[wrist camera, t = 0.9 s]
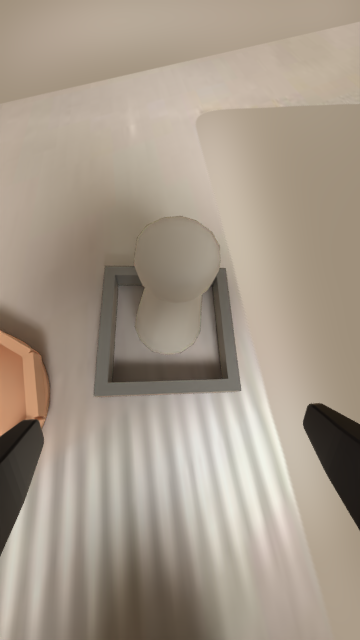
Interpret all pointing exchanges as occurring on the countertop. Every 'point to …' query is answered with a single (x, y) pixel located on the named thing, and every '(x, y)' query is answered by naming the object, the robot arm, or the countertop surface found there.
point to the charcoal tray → (112, 389)
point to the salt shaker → (173, 281)
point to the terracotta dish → (21, 384)
